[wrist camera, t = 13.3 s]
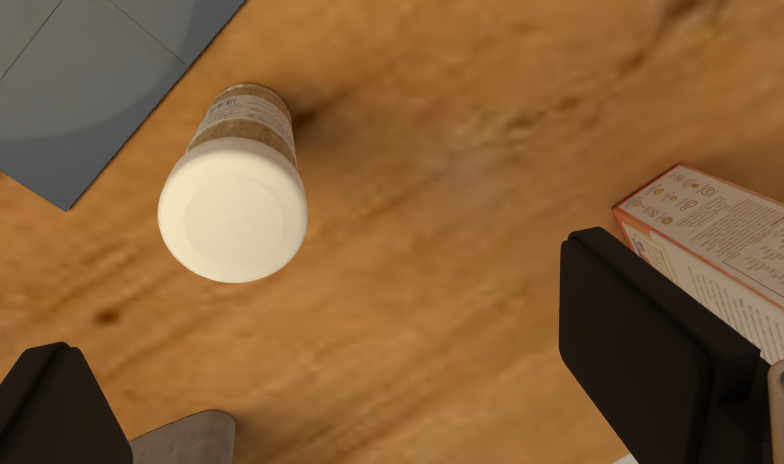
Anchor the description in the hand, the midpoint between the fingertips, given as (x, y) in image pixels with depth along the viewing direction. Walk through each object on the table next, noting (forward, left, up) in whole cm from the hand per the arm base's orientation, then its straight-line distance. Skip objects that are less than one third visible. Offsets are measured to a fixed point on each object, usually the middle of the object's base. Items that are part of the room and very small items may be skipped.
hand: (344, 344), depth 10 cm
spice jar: (+2, -2, -21) cm, 21 cm away
